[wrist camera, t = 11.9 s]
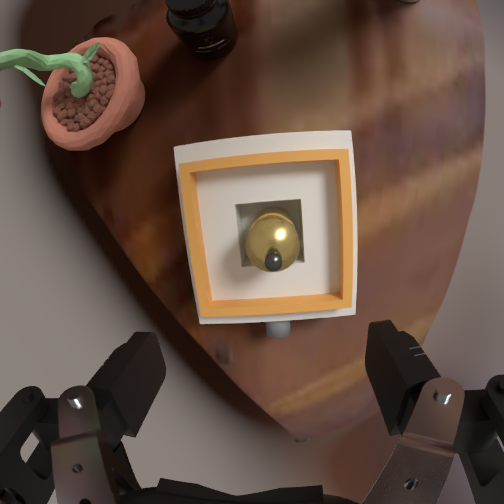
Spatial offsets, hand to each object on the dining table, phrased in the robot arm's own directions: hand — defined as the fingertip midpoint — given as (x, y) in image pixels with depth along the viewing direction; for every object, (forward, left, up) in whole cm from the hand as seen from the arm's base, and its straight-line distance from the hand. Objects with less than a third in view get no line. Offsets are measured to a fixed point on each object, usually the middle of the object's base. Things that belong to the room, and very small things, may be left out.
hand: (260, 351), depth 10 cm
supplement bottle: (-25, -5, -26) cm, 37 cm away
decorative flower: (-19, -19, -26) cm, 38 cm away
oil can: (0, 0, -24) cm, 24 cm away
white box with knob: (+1, 0, -26) cm, 26 cm away
